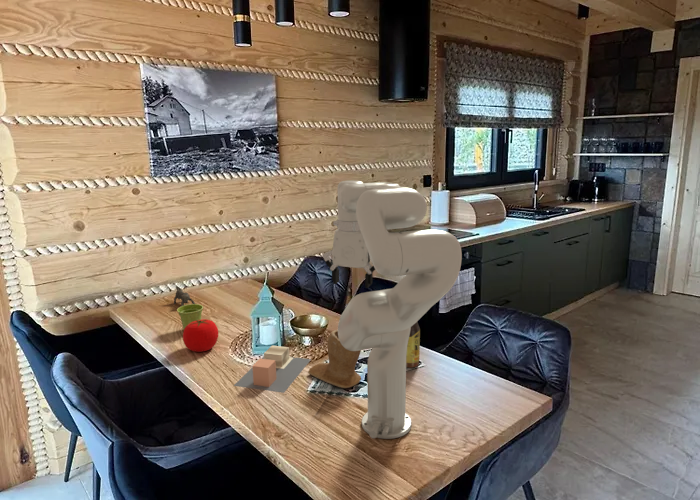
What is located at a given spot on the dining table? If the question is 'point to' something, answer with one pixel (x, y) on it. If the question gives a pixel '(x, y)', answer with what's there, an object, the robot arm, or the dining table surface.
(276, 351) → the birch block
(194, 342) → the tomato
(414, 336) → the sauce bottle
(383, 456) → the dining table surface
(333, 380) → the tan boot
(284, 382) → the build board
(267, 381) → the terracotta block
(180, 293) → the dog figurine
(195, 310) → the plant pot
